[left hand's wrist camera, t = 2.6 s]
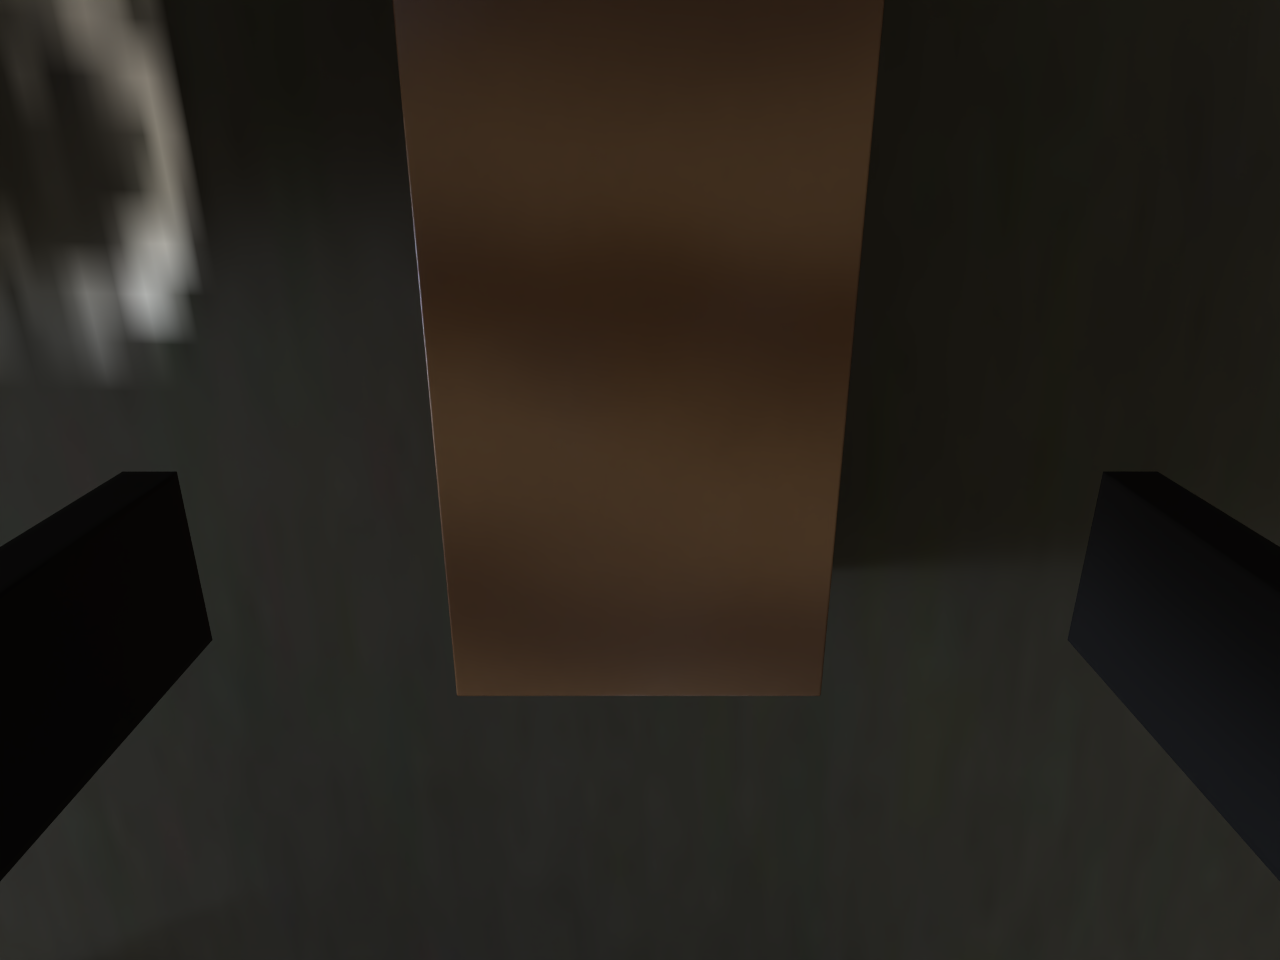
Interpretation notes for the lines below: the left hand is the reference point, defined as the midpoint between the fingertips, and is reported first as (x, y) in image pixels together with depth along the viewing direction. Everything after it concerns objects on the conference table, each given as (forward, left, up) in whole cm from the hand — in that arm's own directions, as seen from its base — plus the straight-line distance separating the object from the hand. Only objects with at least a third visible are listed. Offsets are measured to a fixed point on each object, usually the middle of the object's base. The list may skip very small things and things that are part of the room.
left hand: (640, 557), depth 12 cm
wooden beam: (+14, +10, -14) cm, 23 cm away
